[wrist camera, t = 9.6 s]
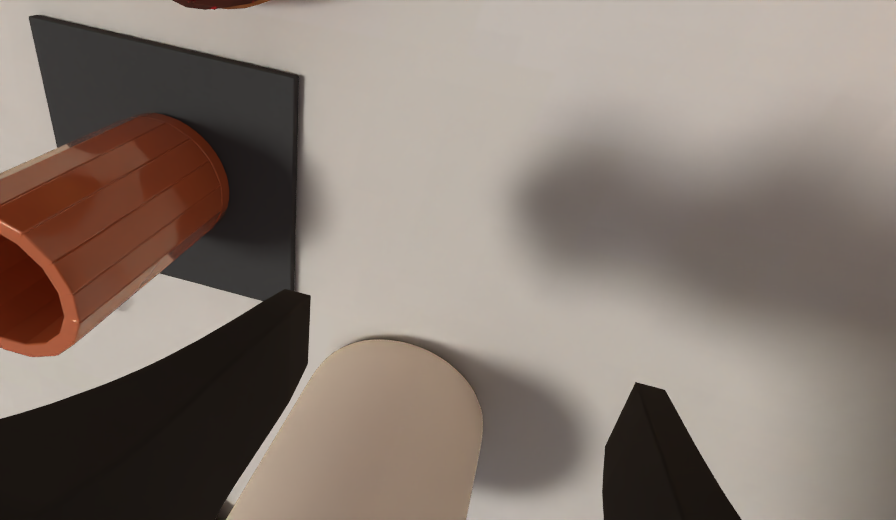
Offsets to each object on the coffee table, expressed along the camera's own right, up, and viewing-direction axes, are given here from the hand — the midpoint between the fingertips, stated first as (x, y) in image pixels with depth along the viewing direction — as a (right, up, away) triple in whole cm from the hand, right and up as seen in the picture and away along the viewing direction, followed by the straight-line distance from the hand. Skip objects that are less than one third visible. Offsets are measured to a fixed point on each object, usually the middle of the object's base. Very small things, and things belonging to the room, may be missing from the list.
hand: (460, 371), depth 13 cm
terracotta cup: (-11, +6, +10) cm, 16 cm away
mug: (-4, -5, +15) cm, 17 cm away
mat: (-11, +6, +10) cm, 16 cm away
